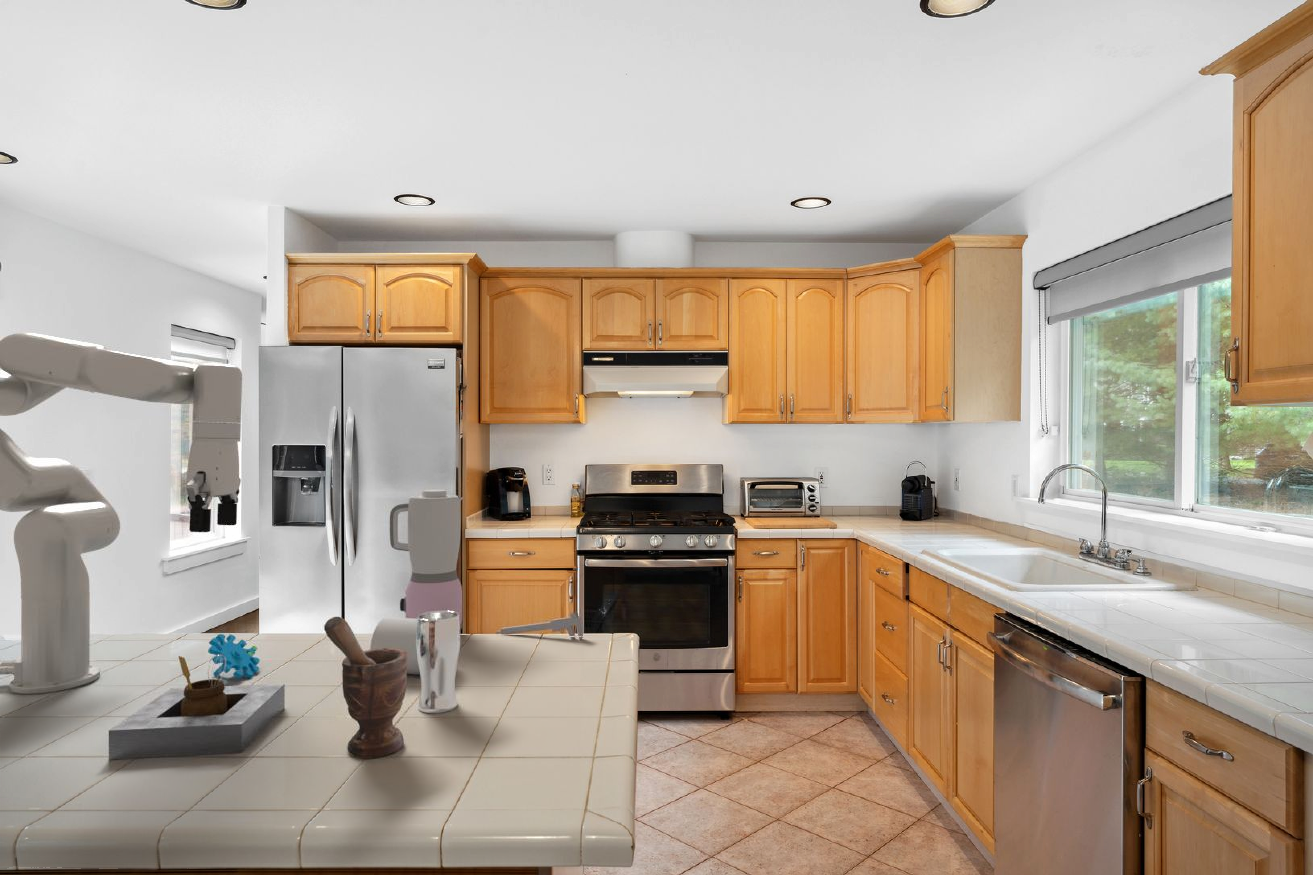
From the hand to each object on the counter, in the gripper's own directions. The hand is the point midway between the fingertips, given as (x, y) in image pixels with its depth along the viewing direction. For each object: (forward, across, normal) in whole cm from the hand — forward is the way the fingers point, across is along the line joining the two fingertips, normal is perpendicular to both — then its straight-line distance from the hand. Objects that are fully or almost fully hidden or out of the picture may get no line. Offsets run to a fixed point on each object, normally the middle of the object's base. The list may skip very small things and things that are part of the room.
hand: (213, 528), depth 134 cm
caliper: (+26, -25, +57) cm, 68 cm away
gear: (+28, -3, +3) cm, 28 cm away
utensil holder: (+27, +24, +10) cm, 38 cm away
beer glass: (+26, +16, +43) cm, 53 cm away
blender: (+27, -29, +32) cm, 51 cm away
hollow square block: (+27, +24, +11) cm, 38 cm away
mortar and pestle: (+27, +34, +37) cm, 57 cm away
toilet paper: (+27, -2, +34) cm, 44 cm away
